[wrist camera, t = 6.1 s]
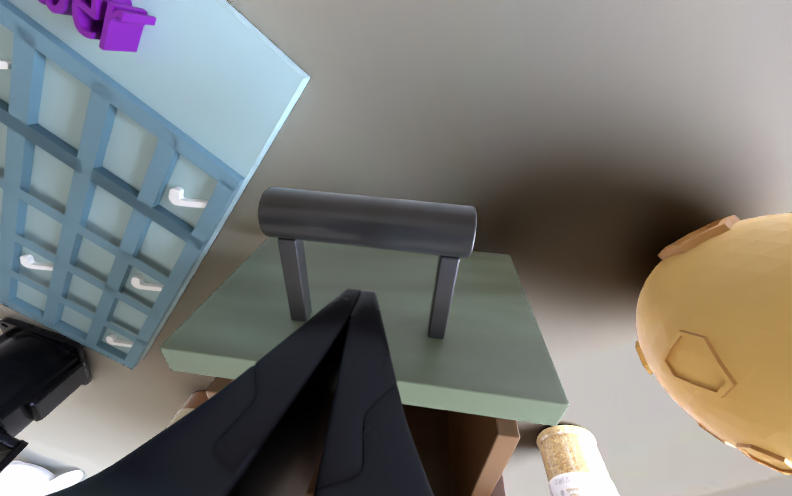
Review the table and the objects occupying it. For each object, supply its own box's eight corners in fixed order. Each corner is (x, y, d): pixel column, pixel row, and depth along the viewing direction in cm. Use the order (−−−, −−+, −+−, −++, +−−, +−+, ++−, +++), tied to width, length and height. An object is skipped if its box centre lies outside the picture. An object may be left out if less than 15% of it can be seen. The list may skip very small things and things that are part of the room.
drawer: (259, 136, 14) (82, 205, 7) (539, 160, 13) (657, 265, 6) (301, 379, 24) (244, 511, 17) (465, 402, 23) (478, 552, 16)
